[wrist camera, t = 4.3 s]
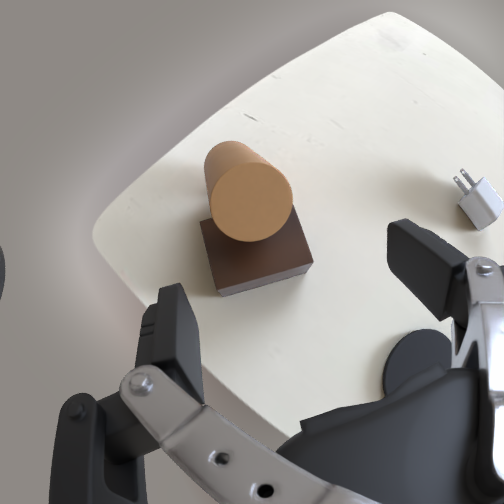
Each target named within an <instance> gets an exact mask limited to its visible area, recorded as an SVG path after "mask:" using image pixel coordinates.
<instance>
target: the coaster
mask: <svg viewBox="0 0 504 504" xmlns="http://www.w3.org/2000/svg"><path fill="white" fill-rule="evenodd" d="M438 361H439V362H440V363H441V365H442V366H443V367H444V369H450V368H451V362H452V343H451V341H450V340H449V339H448V338H447V337H446V336H445V335H444V334H443V333H441V332H439V331H436V330H432V329H422V330H417V331H414V332H412V333H410V334H408V335H406V336H405V337H404V338H402V339H401V340H400V341H399V342H398V343H397V344H396V345H395V347H394V348H393V350H392V351H391V353H390V355H389V357H388V359H387V361H386V364H385V368H384V373H383V389H384V393H385V396H387V395H388V394H390V393H391V392H392V391H393V390H395V389H396V388H397V387H398V386H399V385H401V384H402V383H403V382H404V381H405V380H407V379H408V378H409V377H410V376H412V375H414V374H416V373H418V372H420V371H422V370H423V369H425V368H427V367H429V366H431V365H433V364H434V363H436V362H438Z"/></svg>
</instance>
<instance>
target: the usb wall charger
mask: <svg viewBox="0 0 504 504" xmlns="http://www.w3.org/2000/svg"><path fill="white" fill-rule="evenodd" d="M462 171H464V172H465V174H463V173H462ZM460 172H461V173H462V175H463V176H464V177H465V179H466V180H467V181H468V182H469V184H470V185H471V186H472V187H471V188H470V189H469V190H468V189H467V188H466V187H465V185H464V184H463V183H462V182H461V180H460V179H459V178H458V177H457V176H455V177H454V178H453V179H454V181H455V182H456V183H457V185H458V186H459V187H460V188H461V189H462V191H463V192H464V193H465V195H464V196H463V197H462V199H461V200H460V201H459V202H458V204H459V205H460V206H461V208H462V209H463V210H464V212H465V213H466V214H467V216H468V217H469V218H470V220H471V221H472V222H473V224H474V225H475V227H476V228H477V229H478V231H480V230H482V229H484V228H485V227H487V226H488V225H490V224H492V223H493V222H494V221H496V220H497V218H498V217H499V215H500V214H501V212H502V210H503V208H504V202H503V201H502V199H501V198H500V197H499V195H498V194H497V193H496V191H495V190H494V188H493V187H492V186H491V184H490V183H489V182H488V181H487V179H486V178H485V177H483V178H482V179H481V180H479V181H478V182H477V183H475V182H474V181H473V180H472V178H471V177H470V176H469V175H468V174H467V172H466V171H465V170H464V169H463V168H462V169H461V170H460ZM455 178H457V179H458V181H456V180H455Z"/></svg>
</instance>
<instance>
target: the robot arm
mask: <svg viewBox="0 0 504 504" xmlns="http://www.w3.org/2000/svg"><path fill="white" fill-rule="evenodd" d="M387 262H388V266H389V268H390V270H391V272H392V273H393V274H394V275H395V276H396V277H397V278H398V279H399V280H400V281H401V282H402V283H403V284H404V285H405V286H406V287H407V288H408V289H409V290H410V291H411V292H412V293H413V294H414V295H415V296H416V297H417V298H418V299H419V300H420V301H421V302H422V303H423V304H424V305H425V306H426V307H427V309H428V310H429V311H430V312H431V313H432V314H433V315H434V316H435V317H436V318H437V319H438V320H439V321H440V322H441V321H442V320H444V319H446V318H448V317H450V316H451V317H452V318H453V320H452V324H451V338H452V362H451V368H450V369H444V367H443V366H442V365H441V363H440V362H439V361H438V362H436V363H434V364H433V365H431V366H429V367H427V368H425V369H423V370H422V371H420V372H418V373H416V374H414V375H412V376H410V377H409V378H408V379H407V380H405V381H404V382H403V383H402V384H401V385H399V386H398V387H397V388H396V389H395V390H393V391H392V392H391V393H390V394H388V395H387V396H386V397H385V398H383V399H381V400H379V401H375V402H370V403H365V404H359V405H353V406H347V407H340V408H337V409H334V410H331V411H328V412H326V413H323V414H320V415H317V416H314V417H311V418H308V419H305V420H302V421H300V425H301V429H302V431H301V432H299V433H297V434H296V435H294V436H293V437H291V438H290V439H289V440H287V441H286V442H285V443H284V444H283V445H282V446H280V447H279V448H278V449H277V451H276V452H274V451H272V450H270V449H269V448H268V447H266V446H265V445H263V444H262V443H260V442H259V441H257V440H256V439H254V438H253V437H251V436H250V435H248V434H247V433H246V432H244V431H243V430H241V429H240V428H239V427H237V426H236V425H234V424H233V423H232V422H230V421H229V420H227V419H226V418H225V417H224V416H222V415H221V414H220V413H218V412H217V411H216V410H214V409H213V408H212V407H210V406H208V405H204V406H202V404H205V403H204V392H203V381H202V369H201V355H200V341H199V329H198V324H197V321H196V318H195V315H194V313H193V310H192V308H191V306H190V304H189V301H188V299H187V296H186V294H185V292H184V289H183V287H182V285H181V284H180V283H176V284H173V285H169V286H165V287H162V288H160V289H159V294H158V301H157V303H156V304H152V305H150V306H149V307H148V309H147V310H146V312H145V313H144V315H143V318H142V324H141V329H140V337H139V342H138V348H137V355H136V362H135V368H134V369H133V370H131V371H130V372H129V373H127V375H125V377H124V378H123V380H122V381H121V384H120V387H119V391H118V392H116V393H114V394H112V395H110V396H108V397H105V398H103V399H101V400H99V401H96V400H95V399H94V398H93V397H92V396H91V395H89V394H87V393H79V394H76V395H73V396H72V397H70V398H69V399H68V400H67V401H66V402H65V403H64V404H63V406H62V408H61V410H60V414H59V419H58V425H57V431H56V438H55V443H54V450H53V459H52V467H51V477H50V490H49V504H148V503H147V493H146V482H145V468H144V455H145V454H147V453H150V452H152V451H154V450H156V449H159V448H162V449H163V450H164V452H165V453H166V454H167V455H168V456H169V457H170V458H171V459H172V460H173V461H174V462H175V463H176V464H177V465H178V466H179V467H180V468H181V469H182V470H183V471H184V472H185V473H186V474H187V475H188V476H189V477H190V478H191V479H192V480H193V481H194V482H196V483H197V484H198V485H199V486H200V487H201V488H202V489H203V490H204V491H205V492H206V493H208V494H209V495H210V496H211V497H212V498H213V499H214V500H216V501H217V502H218V503H219V504H504V266H499V265H498V264H497V263H496V262H494V261H493V260H491V259H489V258H486V257H472V258H468V257H467V256H466V255H464V254H463V253H462V252H460V251H459V250H457V249H456V248H455V247H453V246H452V245H451V244H449V243H447V242H446V241H445V240H443V239H442V238H440V237H439V236H438V235H436V234H435V233H433V232H432V231H430V230H427V229H424V228H421V227H419V226H418V225H416V224H415V223H413V222H412V221H410V220H409V219H406V218H405V219H401V220H398V221H395V222H391V223H389V225H388V228H387Z"/></svg>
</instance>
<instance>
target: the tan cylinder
mask: <svg viewBox="0 0 504 504" xmlns="http://www.w3.org/2000/svg"><path fill="white" fill-rule="evenodd" d="M204 172H205V179H206V186H207V192H208V199H209V206H210V211H211V215H212V218H213V220H214V222H215V224H216V225H217V227H218V228H219V229H220V230H221V231H222V232H223V233H224V234H226V235H227V236H229V237H231V238H233V239H236V240H240V241H248V242H251V241H258V240H262V239H265V238H267V237H269V236H271V235H273V234H274V233H276V232H277V231H278V230H279V229H280V228H281V227H282V226H283V225H284V224H285V222H286V221H287V219H288V217H289V215H290V212H291V209H292V203H293V196H292V190H291V187H290V184H289V182H288V180H287V179H286V177H285V176H284V175H283V174H282V173H281V172H280V171H279V170H278V169H276V168H275V167H274V166H273V165H271V164H270V163H269V162H267V161H266V160H265V159H263V158H262V157H261V156H259V155H258V154H257V153H255V152H254V151H253V150H251V149H250V148H249V147H247V146H246V145H244V144H242V143H240V142H236V141H226V142H222V143H220V144H218V145H216V146H215V147H213V148H212V149H211V150H210V152H209V153H208V155H207V156H206V159H205V163H204Z"/></svg>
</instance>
